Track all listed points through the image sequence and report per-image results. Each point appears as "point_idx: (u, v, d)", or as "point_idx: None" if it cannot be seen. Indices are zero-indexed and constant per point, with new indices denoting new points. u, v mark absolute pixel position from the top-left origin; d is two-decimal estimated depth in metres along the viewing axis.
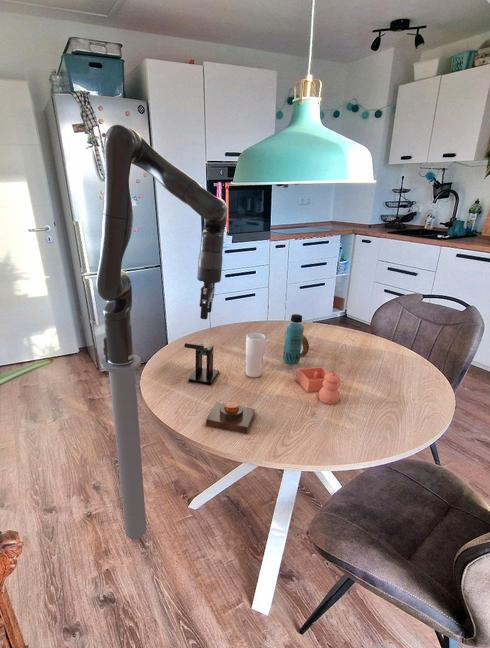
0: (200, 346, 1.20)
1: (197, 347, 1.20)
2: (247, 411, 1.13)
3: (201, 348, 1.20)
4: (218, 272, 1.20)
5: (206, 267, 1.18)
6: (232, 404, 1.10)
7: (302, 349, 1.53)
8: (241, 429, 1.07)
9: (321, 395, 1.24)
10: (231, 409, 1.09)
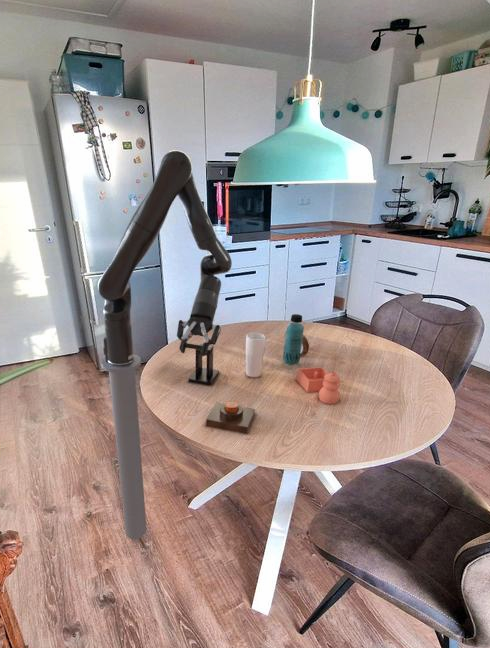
0: (200, 346, 1.20)
1: (197, 347, 1.20)
2: (247, 411, 1.13)
3: (201, 348, 1.20)
4: None
5: (215, 307, 1.24)
6: (232, 404, 1.10)
7: (302, 349, 1.53)
8: (241, 429, 1.07)
9: (321, 395, 1.24)
10: (231, 409, 1.09)
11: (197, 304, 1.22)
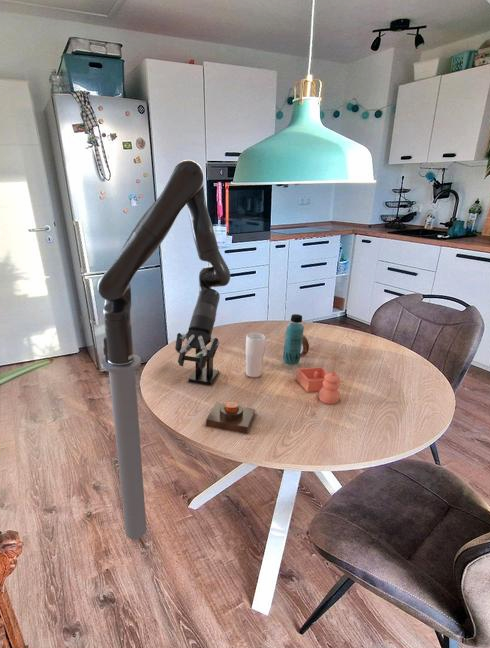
0: (198, 359, 1.20)
1: (195, 360, 1.20)
2: (247, 411, 1.13)
3: (199, 361, 1.20)
4: None
5: (213, 320, 1.24)
6: (232, 404, 1.10)
7: (302, 349, 1.53)
8: (241, 429, 1.07)
9: (321, 395, 1.24)
10: (231, 409, 1.09)
11: (195, 317, 1.23)
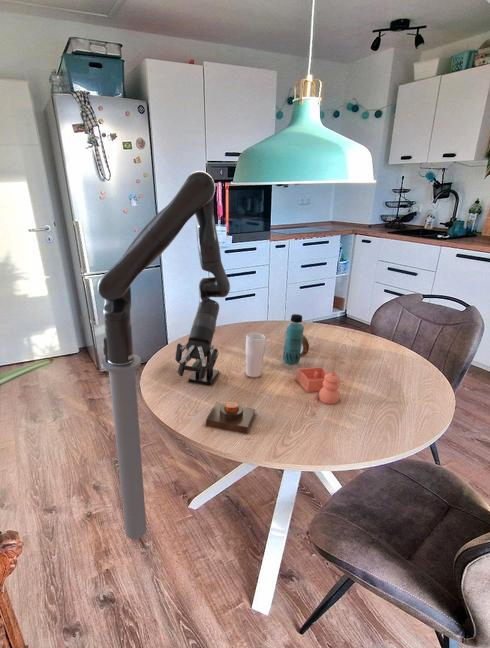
0: (198, 370, 1.21)
1: (195, 371, 1.22)
2: (247, 411, 1.13)
3: (199, 371, 1.21)
4: None
5: (213, 330, 1.26)
6: (232, 404, 1.10)
7: (302, 349, 1.53)
8: (241, 429, 1.07)
9: (321, 395, 1.24)
10: (231, 409, 1.09)
11: (195, 328, 1.24)
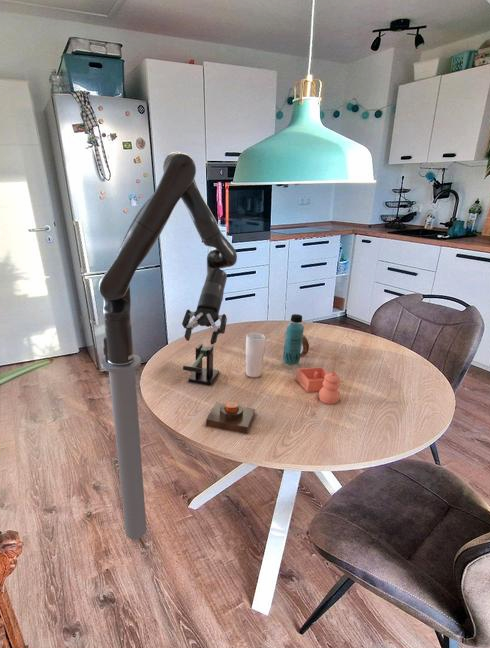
0: (198, 370, 1.21)
1: (195, 371, 1.22)
2: (247, 411, 1.13)
3: (199, 372, 1.21)
4: None
5: (221, 298, 1.29)
6: (232, 404, 1.10)
7: (302, 349, 1.53)
8: (241, 429, 1.07)
9: (321, 395, 1.24)
10: (231, 409, 1.09)
11: (203, 296, 1.27)
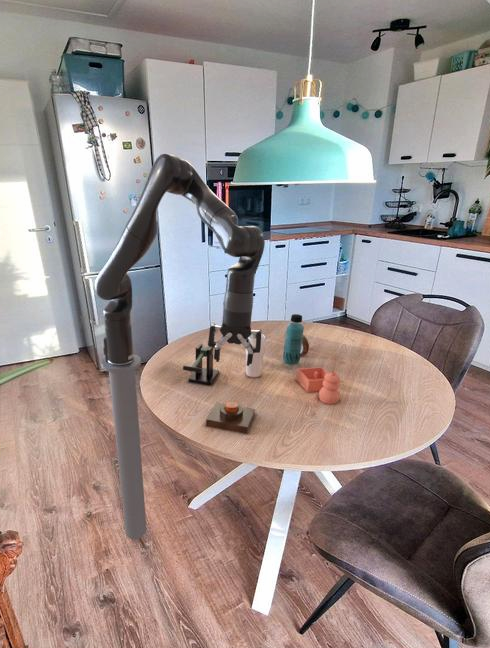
0: (198, 370, 1.21)
1: (195, 371, 1.22)
2: (247, 411, 1.13)
3: (199, 372, 1.21)
4: (227, 314, 0.99)
5: None
6: (232, 404, 1.10)
7: (302, 349, 1.53)
8: (241, 429, 1.07)
9: (321, 395, 1.24)
10: (231, 409, 1.09)
11: None
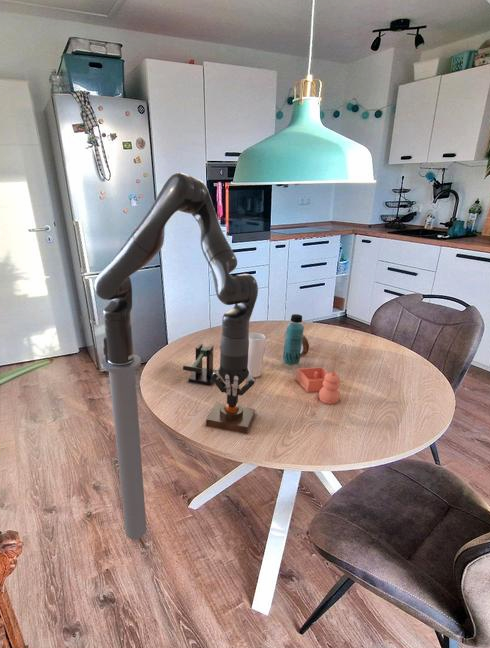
0: (198, 370, 1.21)
1: (195, 371, 1.22)
2: (247, 411, 1.13)
3: (199, 372, 1.21)
4: (223, 358, 1.02)
5: None
6: None
7: (302, 349, 1.53)
8: (241, 429, 1.07)
9: (321, 395, 1.24)
10: (231, 410, 1.09)
11: None
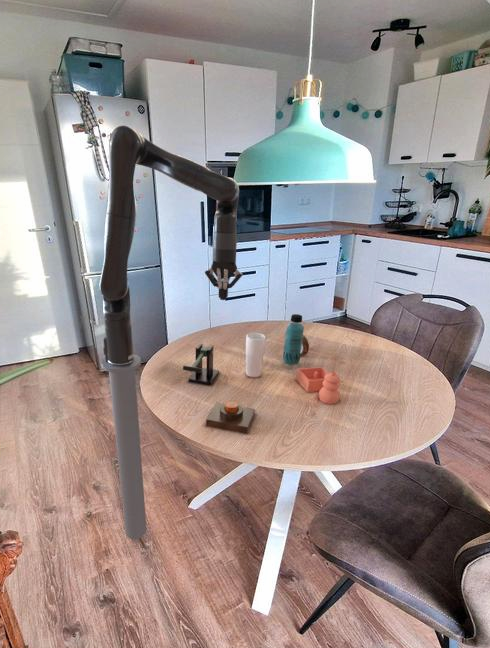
0: (198, 370, 1.21)
1: (195, 371, 1.22)
2: (247, 411, 1.13)
3: (199, 372, 1.21)
4: (215, 252, 1.22)
5: None
6: (232, 404, 1.10)
7: (302, 349, 1.53)
8: (241, 429, 1.07)
9: (321, 395, 1.24)
10: (231, 409, 1.09)
11: None
